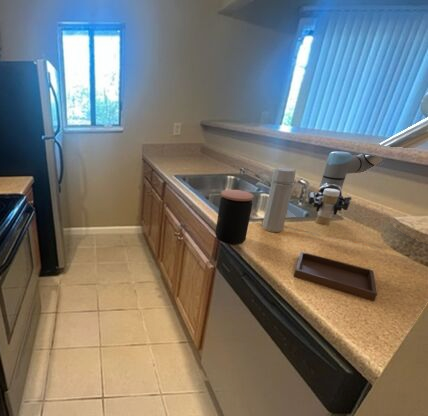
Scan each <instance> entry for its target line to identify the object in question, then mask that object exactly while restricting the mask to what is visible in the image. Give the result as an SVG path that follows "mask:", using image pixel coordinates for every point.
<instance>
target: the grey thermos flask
mask: <svg viewBox="0 0 428 416" xmlns="http://www.w3.org/2000/svg"><path fill="white" fill-rule="evenodd" d="M296 172H297V171H296V169H295V168H290V167H281V166H279V167H275V168H274V171H273V173H272V177H271V179H270V182H271V183H270V187H269V193H268V197H267V201H266V207H265V212H264V216H263V219H262V220H263V221H262V228H263V229H264V230H265V231H267V232H271V233H280V232H281V231H283V230H284V226H285V223H286V222H285V221H286V218H287V217H286V216H287V213H288V209H289V206H290V202H291V201H290V200H291V197H292V193H293V189H294V185H296V182H295V179H296Z"/></svg>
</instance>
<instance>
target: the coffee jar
mask: <svg viewBox="0 0 428 416" xmlns="http://www.w3.org/2000/svg"><path fill="white" fill-rule="evenodd" d="M220 195H221V197H220V199H219V206H218V212H217V218H216V219H217V220H216V226H215V232H214V234H215V237H216V238H217V240H218V241H220V242H222V243H225V244H229V245H240V244H242V243H244V242H245V241H246V239H247V234H248V229H249V223H250V218H251V214H252V208H253V200H254V197H255V195H254V194H253V193H252V192H249V191H247V190H241V189H226V190H222V191H221V193H220Z"/></svg>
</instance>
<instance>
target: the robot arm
mask: <svg viewBox="0 0 428 416" xmlns="http://www.w3.org/2000/svg"><path fill="white" fill-rule="evenodd" d="M420 111H421V114H422V115H423V116H424V117H425V118H424V119H422V120H421V121H418V122H417V123H415V124H413V125H411V126H409V127H407V128H406V129H404V130H402V131H400V132H398V133H396V134H395V135H393V136H391V137H389V138H387V139H385V140H384V141H382V142H379V144H380V145H384V146H390V147H403V148H414V149H416V148H418V147H421V146H423V145H424V144H427V143H428V91H427V92H426V93H425V94H424V96H423V98H422V100H421V101H420ZM382 160H383V159H382V158H380V157H376V156H371V155H363V154H362V153H360V154H358V155H353V154H352V153H351V152H347V151H331V152H330V153H328V157H327V160H326V163H325V164H326V165H325V167H324V171H323V174H322V178H321V182H320V184H319V188H318V192H313V191H311V190H310V191H309V192H308V196H307V199H308V202H307V204H308V205H312V206H313V208H316V210H315V211H316V212H318V211H319V208H320V205H321V201H322V198H323V192H324V189H327V188H331V189H337V190H339V191H340V194H339V196H338V198H337V202H336V205H335V208H334V212H333V215H335V216H336V215H337V214H338V211H339V212H341V211H342V210H343V211H347V210H348V209H349V206H350V205H351V202H352V197H351V196H347V197H344V196H343V194H342V193H343V190H342V189H343V186H344V183H345V179H346V177H347V175H349V174H359V173H361V172H364V171H366V170H367V169H369V168H371V167H373V166H374V165H376V164H377V163H379V162H381V161H382Z"/></svg>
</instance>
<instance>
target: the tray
mask: <svg viewBox="0 0 428 416" xmlns="http://www.w3.org/2000/svg"><path fill="white" fill-rule="evenodd" d="M293 278H297V279H300V280H303V281H306V282H310V283H314V284H317V285H320V286H323V287H326V288H329V289H333V290H336V291H339V292H341V293H345V294H348V295H352V296H355V297H358V298H362V299H365V300H368V301H371V302H375V300H376V298H377V295H378V289H377V285H376V279H375V273H374V270H373V269H369V268H366V267H362V266H357V265H354V264H350V263H346V262H343V261H339V260H334V259H331V258H327V257H323V256H319V255H316V254H312V253H308V252H305V251H300V252H299V256H298V259H297V263H296V267H295V270H294V274H293Z"/></svg>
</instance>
